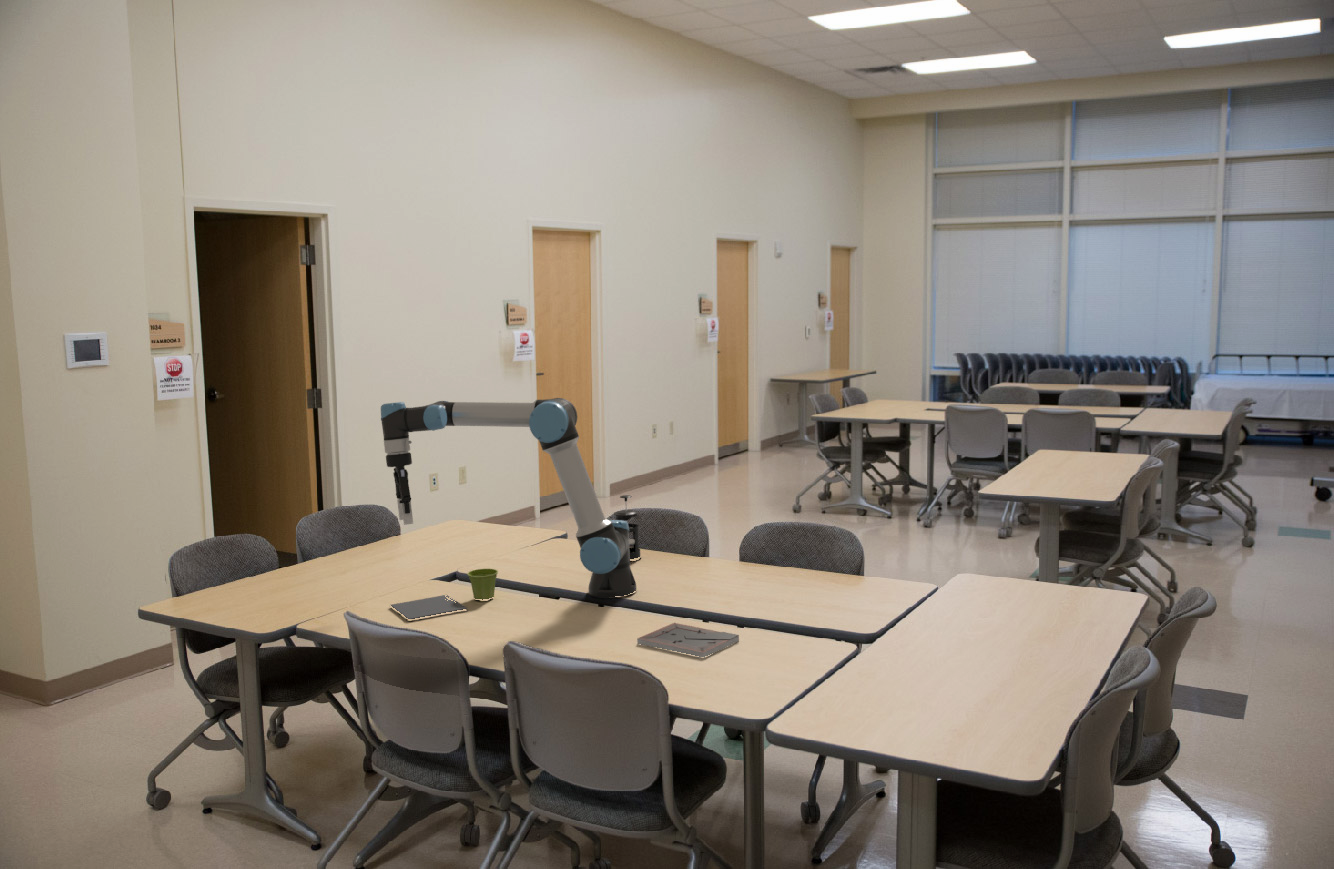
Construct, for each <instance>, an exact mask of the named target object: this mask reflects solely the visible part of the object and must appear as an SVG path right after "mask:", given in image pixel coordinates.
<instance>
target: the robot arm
mask: <svg viewBox="0 0 1334 869" xmlns="http://www.w3.org/2000/svg"><path fill="white" fill-rule="evenodd" d="M405 403H406V402H404V401H398V402H391V403H383V404H381V406H380V421H381V427H382V435H383V446H384V453H385V454H386V456H385V461H386V467H388V468H393V471H394V472H392V473H393V474H392V475H393V478H394V483H395V484H394V485H395V496H396V501H397V502H396V503H397V510H398V518H399V519H398V520H400V521H402V520H403V525H404V526H406V525H413V524H414V518H413V509H412V497H411V491H410V486H409V472H408V470H407V469H406V468H405V466H410V465H412V464H413V459H412V453H411V452H410V451H411V445H410V444H412V441H411V440H410V435H409V433H414V432H426V431H427V432H428V431H429V432H430V431H433V432H434V431H436V430H437V431H438V430H443V429H445V428H446V427H500V428H501V427H506V428H507V427H508V428H509V427H510V428H511V427H513V428H521V427H522V428H529V430H530V432H531V434H532V436H533V437H534V438H535V439H537V440H538V441H539V445H540V447H541V450H542V451H543V452H544V453H546V454H548V455H549V456H550V459H551V461H552V464H553V467H554V470H555V472H556V473H557V474H556V475H557V477H558V479H559V482H560V485H561V487H562V490H563V492H564V495H565V497H566V501H567V502H568V505H569V508H570V510H571V513H572V515H573V518H574V521H575V523H576V526H577V531H576V533H575V538H576V540H577V542H578V545H579V547H580V550H579V559H580V562H581V564H582V566H583V567H584V568H585V569H586V570H587V571H589V572H591V576H590V580H589V583H588V594H589V595H590V596H591V597H595V598H599V599H610V598H609V597H615V596H624V595H628V594H630V593H633V592H634V591H636V590H637V583H636V580H635V576H634V574H633V571H632V569H631V562H630V550H629V547H630V546H629V539H630V532H629V529H630V527H629V526H628V524H629V523H628V521H627V522H626V521H623V520H615V519H608V518H606V517H605V515H604V511H603V510H602V506H601V504H600V502H599V499H598V496H597V494H596V492H595V491H596V490H595V489H594V486H593V484H592V480H591V478H590V476H589V473H588V471H587V468H586V465H585V462H584V461H583V458H582V454H581V452H580V449H579V446H578V441H579V438H580V435H579V433H578V430H577V427H576V424H577V422H578V411H577V409H576V407H575V406H574V404H573V403H572V402H571V400H570V401H569V400H567V399H566V398H562V397H555V398H554V397H553V398H549V399H547V398H546V399H535V401H533V402H498V401H497V402H486V401H485V402H483V401H482V402H480V401H479V402H477V401H476V402H475V401H474V402H473V401H471V402H470V401H469V402H467V401H455V402H454V401H448V400H439V401H436V402H433V403H431V404H426V405H422V406H415V407H407V405H406V404H405ZM636 592H637V591H636Z"/></svg>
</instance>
